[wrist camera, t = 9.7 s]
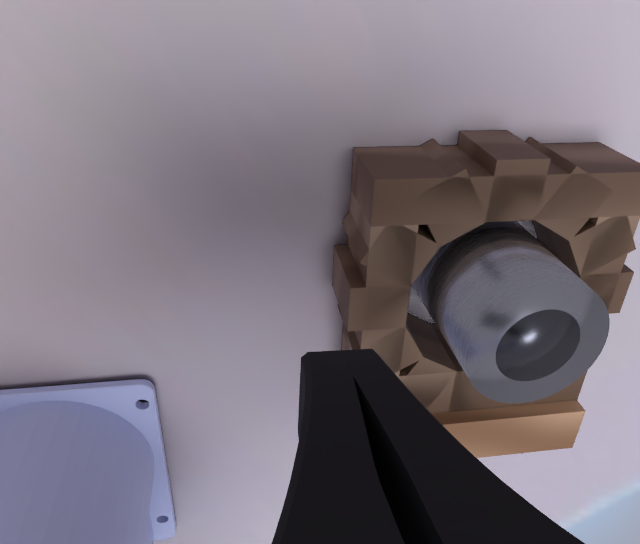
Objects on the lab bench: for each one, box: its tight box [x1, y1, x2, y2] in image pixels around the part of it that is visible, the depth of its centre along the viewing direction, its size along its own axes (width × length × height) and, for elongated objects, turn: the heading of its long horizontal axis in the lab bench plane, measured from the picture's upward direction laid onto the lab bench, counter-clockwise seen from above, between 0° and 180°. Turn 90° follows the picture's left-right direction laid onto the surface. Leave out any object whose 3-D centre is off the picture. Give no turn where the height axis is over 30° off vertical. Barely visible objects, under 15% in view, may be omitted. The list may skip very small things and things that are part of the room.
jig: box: [332, 130, 640, 458], centre depth 21 cm, size 12×10×4 cm
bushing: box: [412, 221, 609, 403], centre depth 19 cm, size 4×4×6 cm
